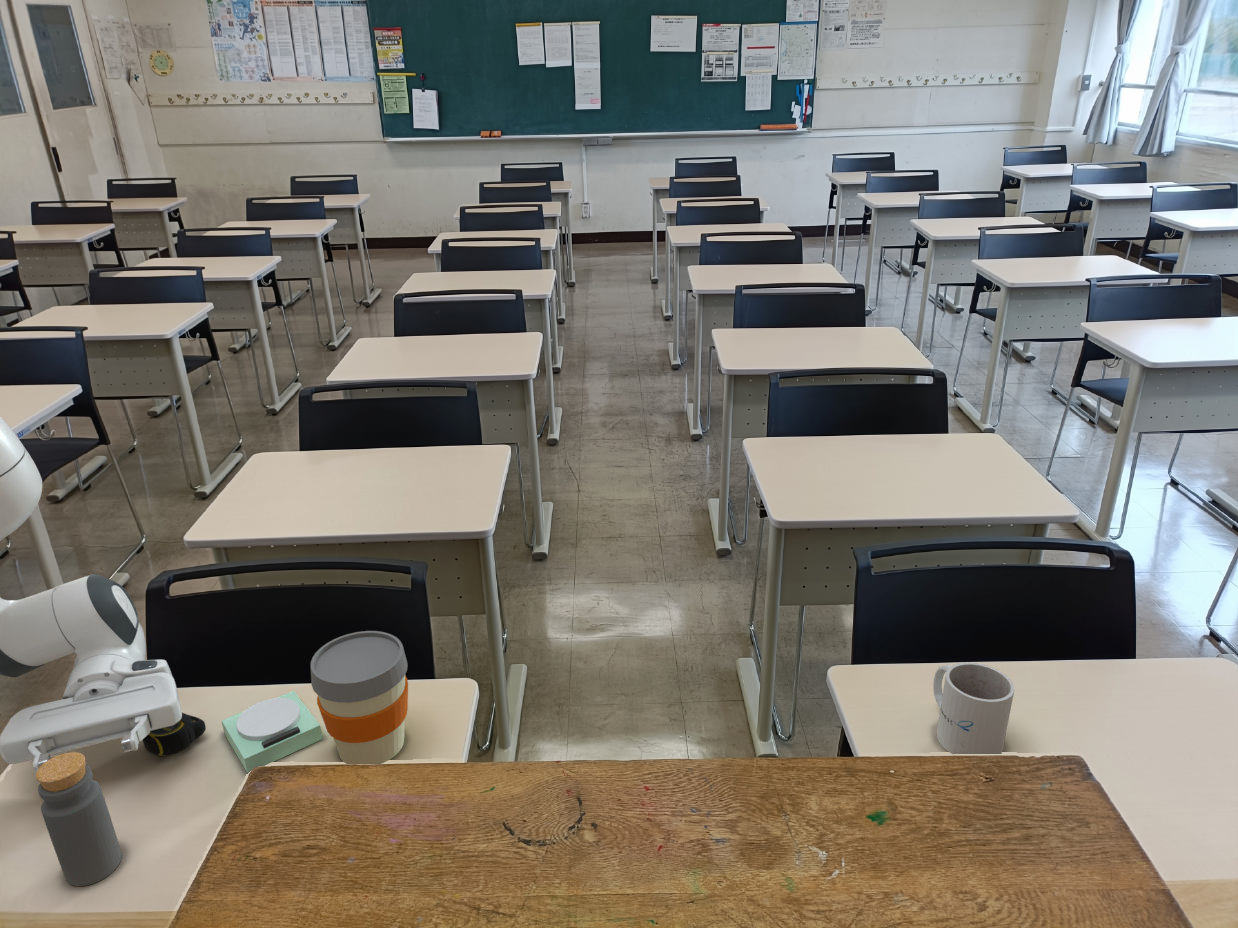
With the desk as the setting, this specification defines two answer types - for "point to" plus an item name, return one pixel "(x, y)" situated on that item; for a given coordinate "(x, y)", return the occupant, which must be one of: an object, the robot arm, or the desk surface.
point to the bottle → (77, 819)
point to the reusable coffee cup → (362, 695)
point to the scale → (271, 730)
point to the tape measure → (174, 736)
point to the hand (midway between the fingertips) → (85, 757)
